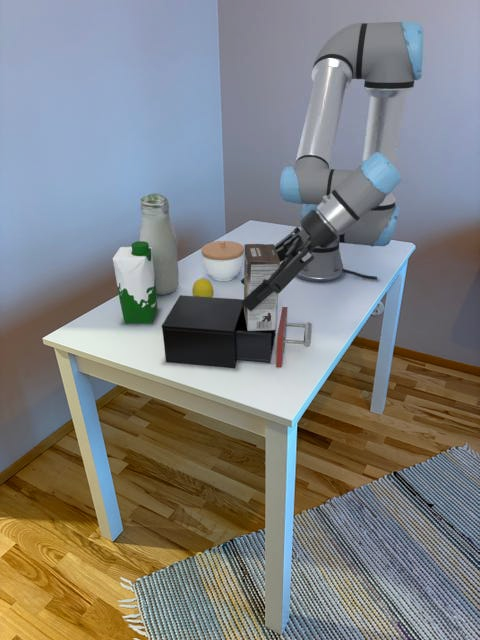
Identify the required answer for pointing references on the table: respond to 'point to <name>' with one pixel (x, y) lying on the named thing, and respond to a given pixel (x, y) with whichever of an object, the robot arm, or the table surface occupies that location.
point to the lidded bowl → (222, 259)
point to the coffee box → (256, 269)
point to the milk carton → (136, 282)
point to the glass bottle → (160, 241)
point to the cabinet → (202, 331)
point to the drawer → (266, 340)
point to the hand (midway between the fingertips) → (245, 295)
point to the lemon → (203, 288)
